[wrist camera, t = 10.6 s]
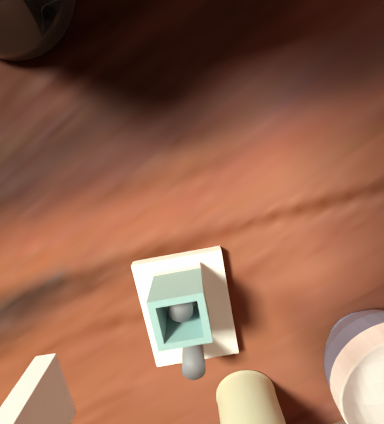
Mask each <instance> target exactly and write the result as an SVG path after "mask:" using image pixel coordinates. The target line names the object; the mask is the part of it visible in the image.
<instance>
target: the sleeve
mask: <svg viewBox="0 0 384 424" xmlns="http://www.w3.org/2000/svg"><path fill="white" fill-rule="evenodd" d="M188 302H193V315H192V317H191V318H190V319H189V320H188V321H185V322H176V321H174V320H172V319H171V318H170V316H169V313H168V309H169V306H171V305H177V304H183V303H188ZM146 304H147V308H148V312H149V316H150V320H151V324H152V328H153V332H154V336H155V340H156V344H157V348H158V352H160V351H165V350H171V349H177V348H183V347H189V346H194V345H200V344H206V343H212V342H213V338H212V331H211V324H210V316H209V309H208V301H207V296H206V291H205V286H204V281H203V275H202V270H201V265H200V261H199V262H193V263H188V264H182V265H177V266H171V267H166V268H160V269H155V271H154V275H153V279H152V283H151V286H150V290H149V294H148V298H147V302H146Z"/></svg>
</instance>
